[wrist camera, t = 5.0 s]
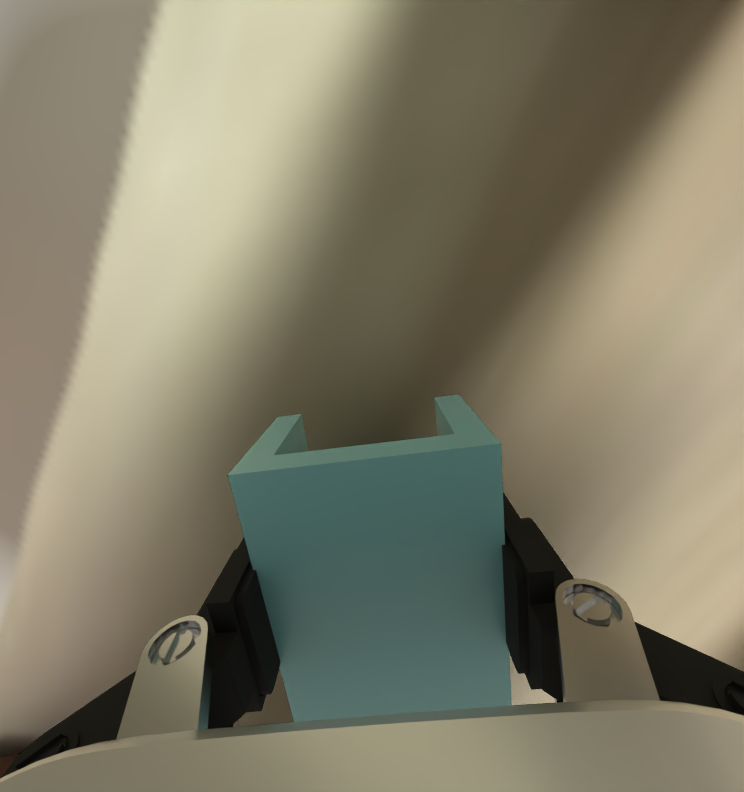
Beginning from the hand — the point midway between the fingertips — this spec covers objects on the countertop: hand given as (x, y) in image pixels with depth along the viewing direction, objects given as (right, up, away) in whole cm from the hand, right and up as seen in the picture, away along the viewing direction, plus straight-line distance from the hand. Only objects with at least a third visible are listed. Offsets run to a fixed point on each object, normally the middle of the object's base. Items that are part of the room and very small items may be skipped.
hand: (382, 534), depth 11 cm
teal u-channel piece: (+1, -6, +3) cm, 7 cm away
